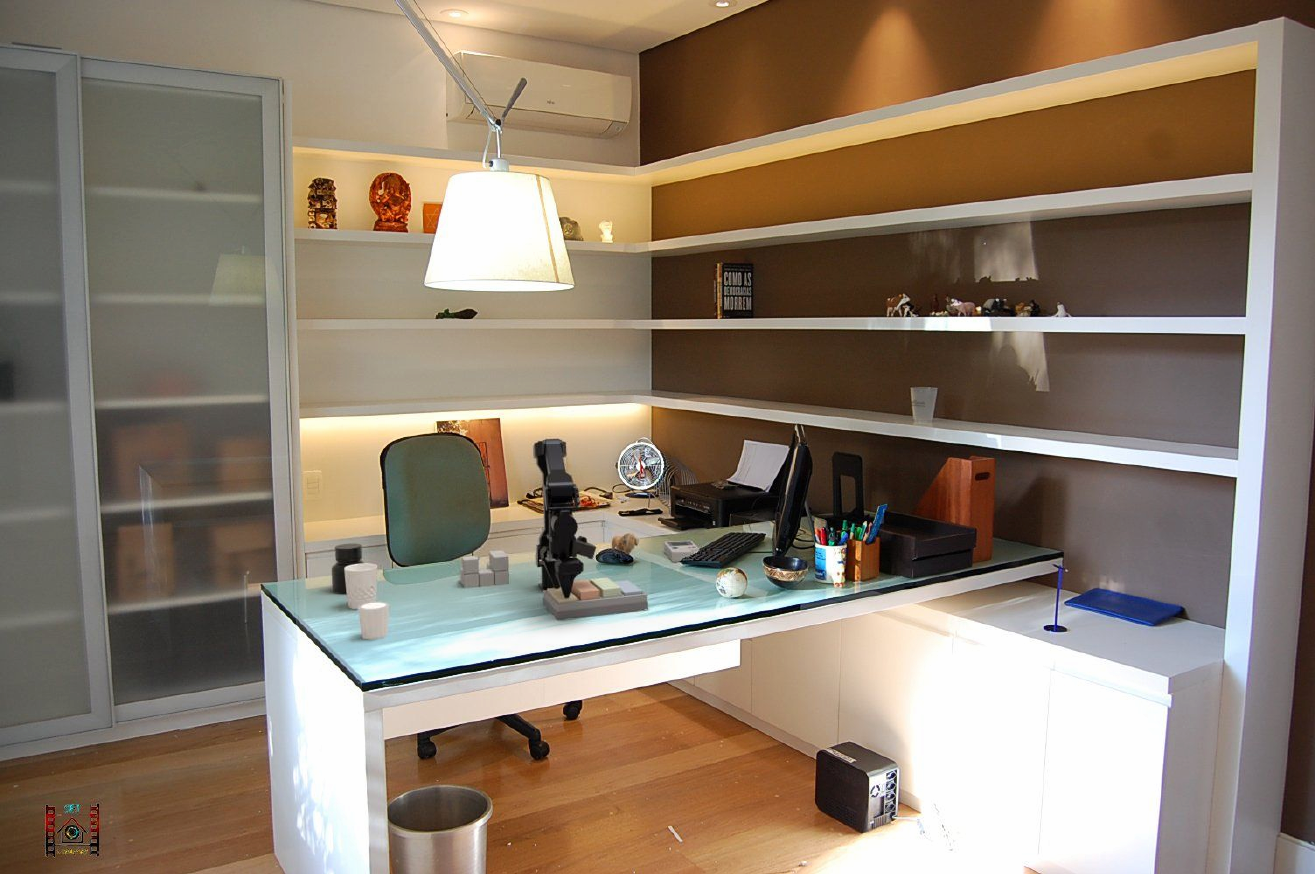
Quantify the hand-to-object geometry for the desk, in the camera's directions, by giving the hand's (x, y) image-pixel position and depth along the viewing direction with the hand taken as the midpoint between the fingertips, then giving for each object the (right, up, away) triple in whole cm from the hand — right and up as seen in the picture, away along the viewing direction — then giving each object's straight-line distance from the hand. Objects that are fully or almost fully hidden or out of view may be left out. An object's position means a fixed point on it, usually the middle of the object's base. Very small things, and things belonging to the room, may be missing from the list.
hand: (561, 593), depth 235 cm
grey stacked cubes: (-25, -2, +30) cm, 39 cm away
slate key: (+16, -2, +6) cm, 17 cm away
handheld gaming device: (+31, +1, +58) cm, 65 cm away
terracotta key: (+5, -1, +2) cm, 6 cm away
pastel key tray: (+8, -4, +3) cm, 9 cm away
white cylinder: (-41, -7, -18) cm, 45 cm away
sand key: (0, -2, 0) cm, 2 cm away
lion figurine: (+13, +1, +54) cm, 55 cm away
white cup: (-51, -4, +6) cm, 51 cm away
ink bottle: (-59, -3, +21) cm, 63 cm away
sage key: (+10, -1, +4) cm, 11 cm away
